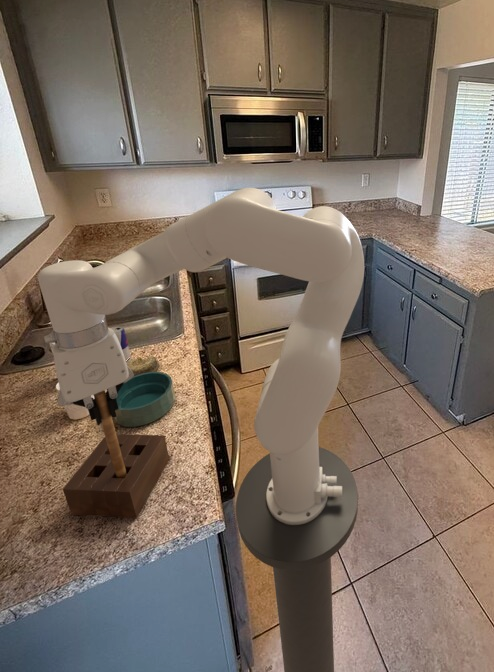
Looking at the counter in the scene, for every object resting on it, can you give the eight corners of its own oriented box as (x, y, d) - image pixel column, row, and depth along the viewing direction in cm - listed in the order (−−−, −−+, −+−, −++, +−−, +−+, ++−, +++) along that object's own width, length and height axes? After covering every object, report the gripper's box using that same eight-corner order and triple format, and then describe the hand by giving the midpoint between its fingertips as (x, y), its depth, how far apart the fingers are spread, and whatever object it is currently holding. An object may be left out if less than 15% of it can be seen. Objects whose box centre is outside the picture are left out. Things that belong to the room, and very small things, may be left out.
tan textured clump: (159, 377, 113) (155, 363, 110) (123, 385, 109) (119, 372, 107) (160, 357, 121) (156, 344, 119) (127, 365, 118) (123, 352, 116)
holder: (169, 458, 83) (164, 435, 81) (136, 518, 70) (129, 492, 68) (113, 456, 84) (107, 433, 82) (71, 514, 71) (62, 489, 69)
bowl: (184, 389, 106) (181, 372, 104) (158, 429, 92) (154, 410, 90) (135, 388, 107) (131, 371, 105) (101, 427, 93) (96, 409, 91)
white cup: (67, 426, 93) (56, 395, 90) (64, 409, 99) (54, 379, 96) (101, 411, 98) (93, 381, 95) (97, 396, 104) (88, 367, 101)
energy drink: (134, 357, 122) (127, 326, 118) (122, 366, 117) (114, 335, 113) (122, 355, 124) (115, 324, 120) (109, 364, 119) (101, 332, 115)
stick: (129, 476, 74) (106, 389, 67) (124, 484, 72) (100, 395, 65) (121, 475, 74) (97, 388, 67) (116, 484, 72) (91, 395, 65)
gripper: (25, 359, 54) (57, 452, 60) (137, 324, 64) (155, 407, 70) (23, 340, 59) (52, 427, 65) (126, 309, 69) (144, 388, 75)
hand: (105, 416), depth 67 cm, fingers closed on stick, 1 cm apart
